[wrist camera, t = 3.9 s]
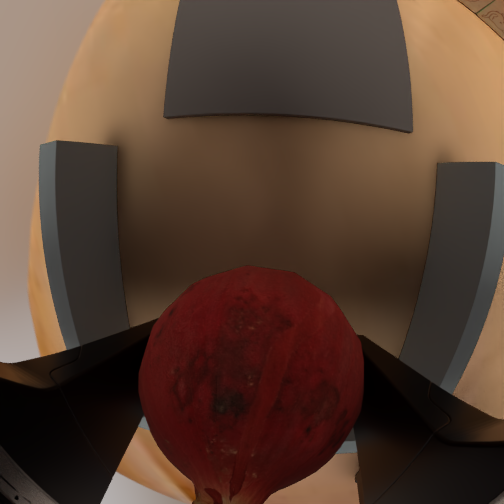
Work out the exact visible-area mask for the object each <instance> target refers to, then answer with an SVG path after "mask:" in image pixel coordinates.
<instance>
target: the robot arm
mask: <svg viewBox="0 0 504 504" xmlns="http://www.w3.org/2000/svg"><path fill="white" fill-rule="evenodd" d="M158 319H159V318H157V319H155V320H152V321H149V322H147V323H144V324H141V325H138V326H135V327H133V328H130V329H127V330H124V331H121V332H119V333H116V334H113V335H110V336H107V337H104V338H101V339H98V340H96V341H93V342H90V343H87V344H84V345H82V347H81V346H78V347H75V348H72V349H68V350H65V351H62V352H59V353H55V354H51V355H47V356H43V357H39V358H35V359H30V360H26V361H21V362H17V363H2V362H0V504H100V503H101V501H102V499H103V497H104V494H105V493H106V491H107V489H108V486H109V484H110V482H111V480H112V477H113V476H114V474H115V472H116V470H117V468H118V466H119V464H120V462H121V460H122V458H123V456H124V454H125V452H126V450H127V448H128V446H129V444H130V442H131V440H132V438H133V436H134V434H135V432H136V430H137V428H138V426H139V424H140V422H141V420H142V418H143V416H144V413H143V409H142V405H141V401H140V396H139V392H138V380H139V370H140V366H141V363H142V359H143V356H144V353H145V349H146V346H147V343H148V340H149V337H150V334H151V331H152V328H153V325H154V324H155V323H156V321H157V320H158ZM357 336H358V338H359V340H360V341H361V346H362V352H363V359H364V395H363V401H362V408H361V412H360V414H359V416H358V418H357V420H356V422H355V424H354V426H353V429H354V435H355V441H356V447H357V453H358V460H359V466H360V471H359V472H358V473H357V475H356V477H355V482H356V483H357V485H358V494H359V502H360V504H504V420H503V419H497V418H494V417H492V416H490V415H488V414H486V413H484V412H482V411H481V410H479V409H477V408H475V407H473V406H471V405H469V404H467V403H466V402H464V401H462V400H460V399H459V398H457V397H455V396H453V395H452V394H450V393H448V392H447V391H445V390H444V389H442V388H441V387H439V386H438V385H436V384H435V383H433V382H431V381H430V380H429V379H427V378H426V377H424V376H423V375H421V374H420V373H418V372H417V371H415V370H414V369H412V368H411V367H409V366H408V365H406V364H405V363H403V362H402V361H401V360H399V359H398V358H396V357H395V356H393V355H392V354H390V353H389V352H387V351H386V350H384V349H383V348H381V347H380V346H378V345H377V344H375V343H374V342H373V341H371V340H370V339H368V338H367V337H365V336H364V335H357Z"/></svg>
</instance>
